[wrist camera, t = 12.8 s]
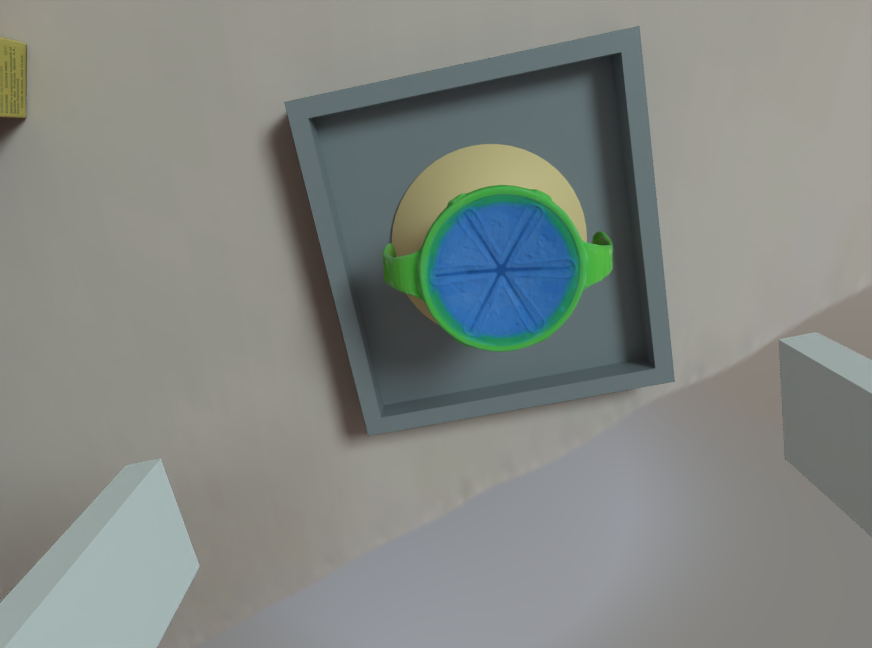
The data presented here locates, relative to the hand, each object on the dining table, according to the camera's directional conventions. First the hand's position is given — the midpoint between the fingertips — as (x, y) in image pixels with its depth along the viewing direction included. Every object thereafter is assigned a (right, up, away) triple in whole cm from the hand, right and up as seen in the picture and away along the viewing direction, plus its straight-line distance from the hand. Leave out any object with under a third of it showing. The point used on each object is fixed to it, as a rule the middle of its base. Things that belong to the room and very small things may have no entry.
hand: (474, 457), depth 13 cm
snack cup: (+2, +7, +23) cm, 24 cm away
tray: (+2, +8, +23) cm, 25 cm away
